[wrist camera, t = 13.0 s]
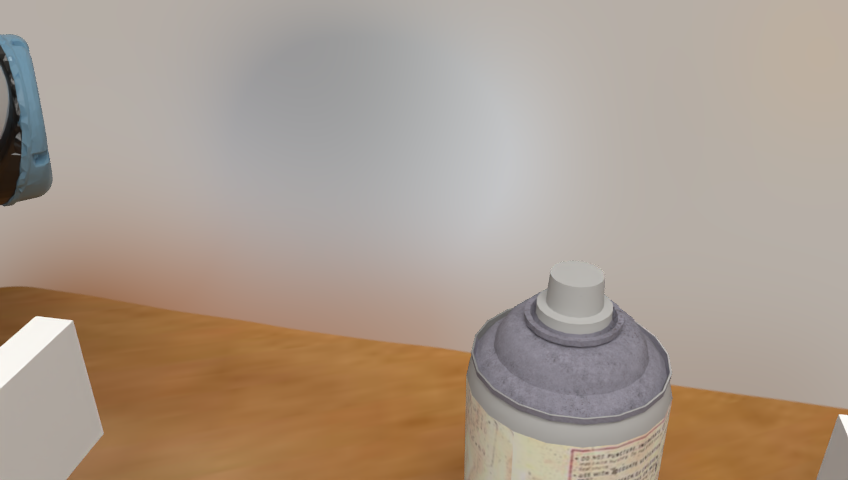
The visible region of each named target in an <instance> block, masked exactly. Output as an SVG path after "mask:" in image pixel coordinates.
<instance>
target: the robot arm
mask: <svg viewBox="0 0 848 480" xmlns="http://www.w3.org/2000/svg"><path fill="white" fill-rule="evenodd" d="M51 184H52V170H51V163H50V158H49V153H48V146H47V138H46V132H45V126H44V120H43V115H42V109H41V105H40V98H39V93H38V88H37V82H36V77H35V72H34V68H33V63H32V58H31V56H30V53H29V47H28V44H27V43H26V41H25V40H24V39H22V38H21V37H19V36H16V35H13V34H6V35H0V205H3V206H10V205H13V204H15V203H16V202H18V201H23V200H27V199H32V198H37V197H40V196H42V195H44V194H45V193H46V192H47V191H48V190H49V189H50V187H51ZM103 434H104V433H103V429H102V425H101V422H100V418H99V414H98V411H97V407H96V403H95V400H94V396H93V392H92V388H91V385H90V381H89V377H88V374H87V370H86V366H85V363H84V359H83V355H82V352H81V348H80V344H79V340H78V337H77V333H76V329H75V326H74V322H73V321H72V320H64V319H56V318H48V317H40V316H36V317H34V318H33V319H32V320H31V321H30V322H29V323H27V324H26V325H25V326H24V327H23V328H22V329H21V330H19V331H18V332H17V333H16V334H15V335H14V336H12V337H11V338H10V339H9V340H8V341H7V342H6V343H4V344H3V345H2V346H1V347H0V480H66V479H67V478H68V477H69V476H70V474H71V473H72V472H73V471H74V469H75V468H76V467H77V466H78V465H79V463H80V462H81V461H82V460H83V458H84V457H85V456H86V455H87V453H88V452H89V451H90V450H91V449H92V447H93V446H94V445H95V444H96V442H97V441H98V440H99V439H100V438H101V436H102V435H103ZM816 480H848V415H840V414H839V415H838V418H837V421H836V424H835V427H834V430H833V433H832V435H831V438H830V441H829V444H828V447H827V450H826V453H825V456H824V459H823V462H822V465H821V468H820V471H819V474H818V477H817V479H816Z"/></svg>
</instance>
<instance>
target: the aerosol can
mask: <svg viewBox="0 0 848 480" xmlns="http://www.w3.org/2000/svg"><path fill="white" fill-rule="evenodd" d="M604 287H605V274H604V272H603V271H602V269H600V268H599V267H598V266H595V265H593V264H591V263H587V262H583V261H563V262H560V263H557V264H555V265H554V266H553V267H552V268H551V271H550V277H549V283H548V288H547V289H545V290H543V291H542V292H540V293H538V294H536V295H534V296H533V297H531V298H529V299H527V300H525V301H524V302H522V303H520V304H518V305H517V306H515V307H514V308H511V309H507V310H505V311H504V312H502V313H500V314H498V315H496V316H495V317H493V318H491V319H490V320H488V321H487V322H486V323H485V324H484V325H483V327H482V328H481V329H480V330H479V331H478V332H477V334H476V335H475V339H474V343H473V347H472V352H471V358H470V362H469V367H468V371H467V377H466V425H465V474H464V480H658V475H659V470H660V464H661V458H662V453H663V447H664V442H665V436H666V431H667V425H668V420H669V414H670V409H671V403H672V392H671V386H670V379H671V375H672V371H671V365H670V358H669V354H668V353H667V351H666V350H665V348H664V347H663V345H662V344H661V343H660V341H659V340H658V338H657V337H656V336H654V335H653V334H652V333H651V332H650V331H648V330H647V329H646V328H644V327H643V326H642V325H640V324H639V323H638V322H636V321H634V319H633V318H632V317H631V316H629V315H628V314H627V313H626V312H624V311H623V310H622V309H620V308H619V306H618V305H617V304H615V303H614V302H613V301H612V300H610V299H609V297H607V296H606V295H605V294H604Z"/></svg>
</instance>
